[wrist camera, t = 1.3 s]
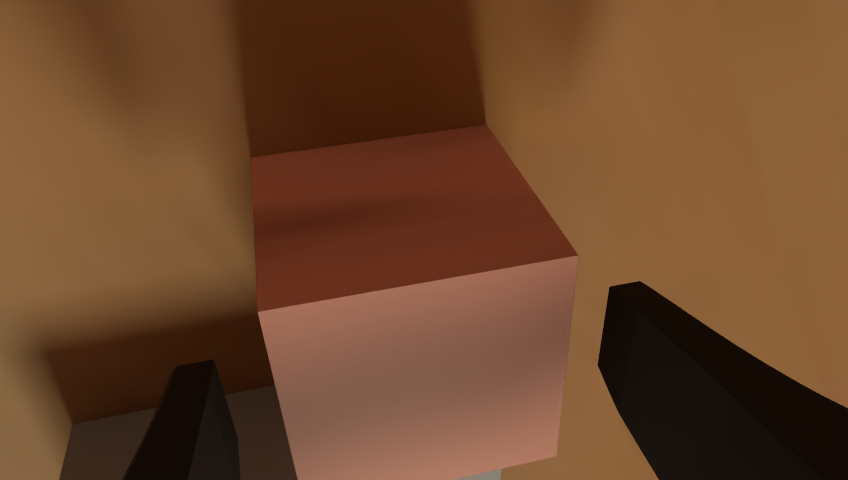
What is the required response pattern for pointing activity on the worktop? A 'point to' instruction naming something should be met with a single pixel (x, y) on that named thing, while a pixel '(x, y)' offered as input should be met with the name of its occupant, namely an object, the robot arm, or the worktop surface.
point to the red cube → (411, 307)
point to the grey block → (254, 423)
